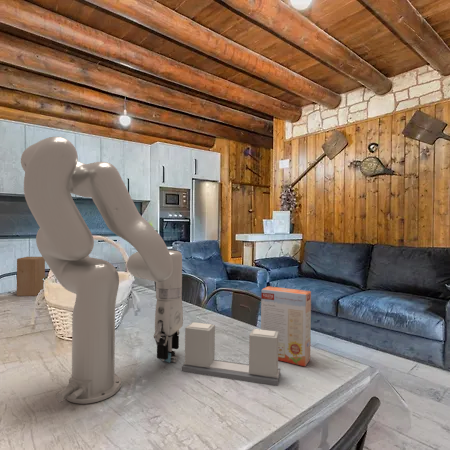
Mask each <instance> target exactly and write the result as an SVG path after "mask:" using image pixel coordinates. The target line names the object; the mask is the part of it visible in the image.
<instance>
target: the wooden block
mask: <svg viewBox="0 0 450 450" xmlns="http://www.w3.org/2000/svg"><path fill="white" fill-rule="evenodd" d="M43 278H45V279H46V261H45V260H44V258H43V257H42V256H24V257H20V258H17V259H16V297H37V296H38V295H37V294H38V293H39V292H40V290H41V289H43V280H42V279H43Z"/></svg>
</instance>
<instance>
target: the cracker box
mask: <svg viewBox="0 0 450 450" xmlns="http://www.w3.org/2000/svg"><path fill="white" fill-rule="evenodd" d="M260 295H261V296H260V297H261V299H260V302H261V303H260V305H261V307H260V330H269V331H276V332H279V337H278V361H281V362H283V363H288V364H292V365H296V366H299V367H300V366H301V367H306V366H307V364H309V362H310V360H311V328H312V324H311V323H312V322H311V321H312V319H311V317H312V291H310V290H303V289H294V288H288V287H287V288H286V287H276V286H270V285H269V286H266V287H264V288H262V289H261V294H260Z"/></svg>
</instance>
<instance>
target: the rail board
mask: <svg viewBox="0 0 450 450" xmlns="http://www.w3.org/2000/svg"><path fill="white" fill-rule="evenodd" d="M184 329H185V330H184V331H185V333H184V334H185V335H184V337H185V338H184V362H183V365H181V372H185V373H192V374H198V375H204V376H209V377H210V376H211V377H216V378H225V379H230V380H237V381H243V382H244V381H245V382H248V383H249V382H250V383H254V384H255V383H256V384H263V385H270V386H276V387H278V385H279V381H280V380H279V379H280V376H281V368H279V360H278V337H279V332H276V331H269V330H261V328H260V329H257V328H253V329H251V332H250V333H249V344H248V345H249V347H248V363H241V362H233V361H227V360H220V359H215V353H216V351H215V349H216V347H215V346H216V345H215V344H216V342H215V341H216V339H215V338H216V336H215V335H216V334H215V333H216V324H211V323H202V322H193V321H192V322H191V323H189V324H188V325H187V326H186V327H185V328H184Z"/></svg>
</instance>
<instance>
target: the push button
mask: <svg viewBox="0 0 450 450" xmlns="http://www.w3.org/2000/svg"><path fill="white" fill-rule="evenodd" d="M161 333H163V334H165V332H163V331H162V332H161ZM174 335H175V333H174V334H172V335H171V336H168V340H167V345H168V359H166V360H165V359H160V360H161V361H162V362H166V363H172V362H174V363H176V362H178V360H177V357H176V351H175V350H173V349H172V337H173V336H174ZM161 338H163V340H164V338H165V336H161Z"/></svg>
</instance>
